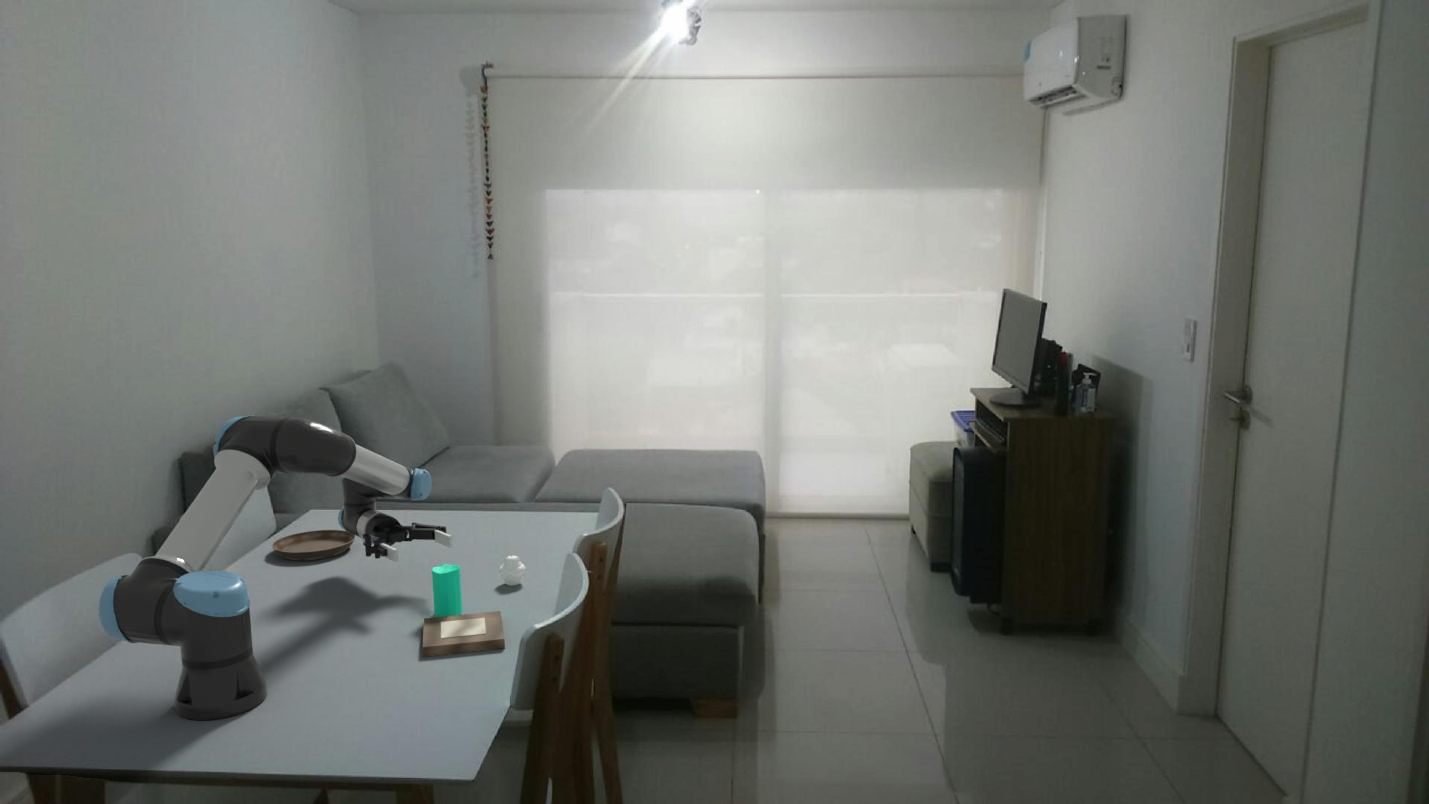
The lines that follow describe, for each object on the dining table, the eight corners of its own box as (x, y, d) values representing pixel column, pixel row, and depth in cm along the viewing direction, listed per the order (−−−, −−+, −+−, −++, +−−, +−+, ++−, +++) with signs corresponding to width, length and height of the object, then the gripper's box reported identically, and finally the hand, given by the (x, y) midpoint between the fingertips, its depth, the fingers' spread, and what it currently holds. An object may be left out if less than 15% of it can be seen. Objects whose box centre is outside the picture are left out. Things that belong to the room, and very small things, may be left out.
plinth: (423, 656, 211) (422, 646, 211) (424, 627, 227) (424, 617, 226) (504, 648, 215) (504, 638, 215) (500, 619, 230) (500, 610, 230)
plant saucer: (270, 546, 285) (269, 534, 284) (351, 536, 293) (350, 524, 293) (274, 569, 266) (273, 556, 266) (360, 557, 275) (359, 545, 274)
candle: (467, 613, 235) (465, 560, 232) (444, 620, 230) (441, 567, 228) (452, 606, 239) (449, 555, 237) (429, 613, 234) (426, 561, 232)
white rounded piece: (529, 579, 256) (528, 551, 255) (522, 588, 250) (520, 559, 249) (504, 578, 257) (502, 551, 255) (496, 587, 251) (495, 559, 249)
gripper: (427, 532, 264) (473, 551, 249) (330, 556, 247) (373, 578, 232) (425, 503, 262) (471, 520, 247) (328, 525, 245) (371, 545, 230)
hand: (424, 548), depth 240 cm, fingers open, 13 cm apart
